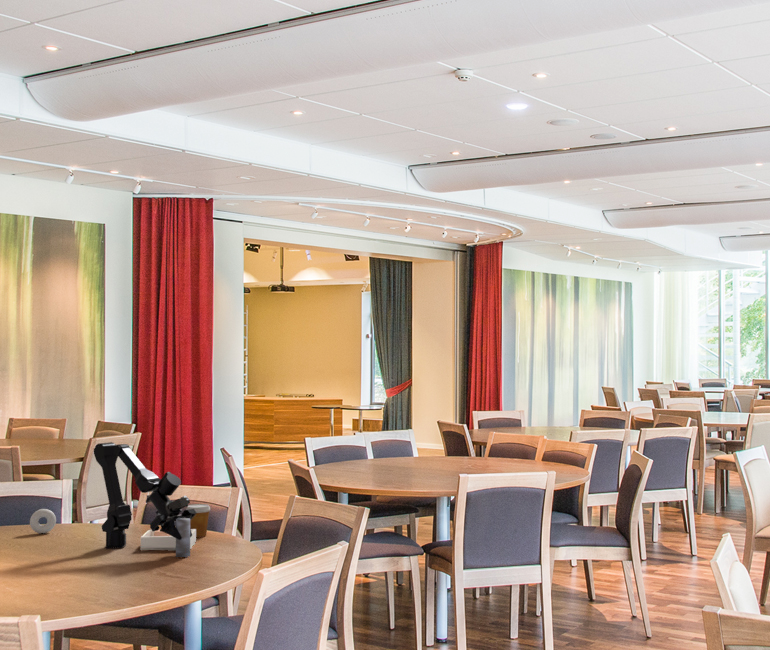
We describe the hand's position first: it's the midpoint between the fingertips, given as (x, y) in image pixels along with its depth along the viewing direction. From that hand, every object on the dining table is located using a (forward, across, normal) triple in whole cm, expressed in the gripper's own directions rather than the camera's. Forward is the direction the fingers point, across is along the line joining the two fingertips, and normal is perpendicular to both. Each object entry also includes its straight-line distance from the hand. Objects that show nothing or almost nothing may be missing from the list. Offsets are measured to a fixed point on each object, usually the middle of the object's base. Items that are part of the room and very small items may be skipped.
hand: (186, 537), depth 300 cm
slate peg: (+4, 0, +6) cm, 7 cm away
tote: (-8, +10, +17) cm, 21 cm away
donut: (-52, +4, +62) cm, 81 cm away
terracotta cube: (-10, +8, +18) cm, 22 cm away
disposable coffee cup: (-10, +30, +20) cm, 37 cm away
